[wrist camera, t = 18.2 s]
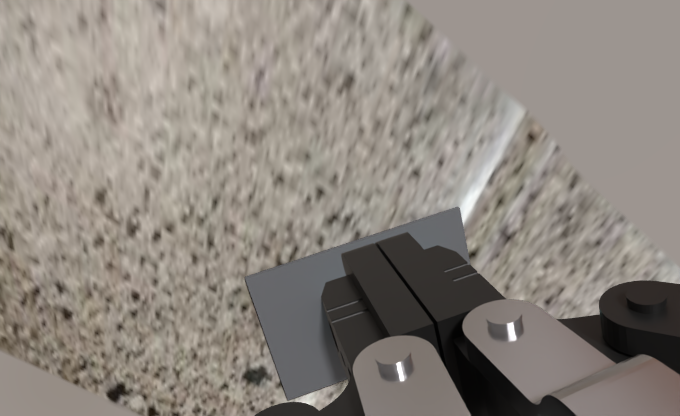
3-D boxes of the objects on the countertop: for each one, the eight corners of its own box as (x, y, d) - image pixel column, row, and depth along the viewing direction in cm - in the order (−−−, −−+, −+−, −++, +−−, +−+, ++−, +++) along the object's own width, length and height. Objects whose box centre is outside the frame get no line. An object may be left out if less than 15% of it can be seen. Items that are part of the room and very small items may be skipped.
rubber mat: (287, 397, 51) (287, 400, 51) (244, 277, 47) (245, 279, 46) (480, 328, 53) (482, 330, 53) (457, 206, 49) (459, 208, 48)
